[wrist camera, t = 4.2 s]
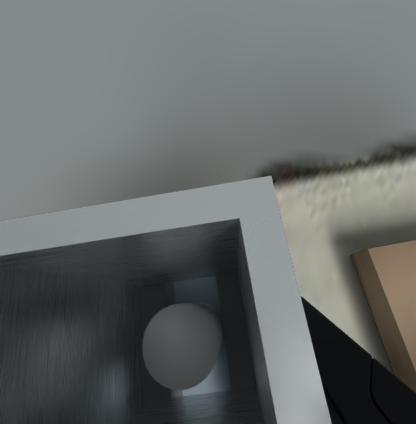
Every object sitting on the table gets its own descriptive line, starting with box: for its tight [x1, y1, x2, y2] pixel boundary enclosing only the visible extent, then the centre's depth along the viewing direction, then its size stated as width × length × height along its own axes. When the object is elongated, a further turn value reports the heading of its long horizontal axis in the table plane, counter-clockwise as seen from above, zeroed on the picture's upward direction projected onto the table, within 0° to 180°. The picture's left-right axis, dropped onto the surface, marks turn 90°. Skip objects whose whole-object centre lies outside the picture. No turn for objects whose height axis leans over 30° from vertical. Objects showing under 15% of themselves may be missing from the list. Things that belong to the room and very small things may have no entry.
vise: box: [142, 273, 257, 400], centre depth 10 cm, size 11×9×7 cm
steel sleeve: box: [0, 176, 332, 424], centre depth 7 cm, size 6×6×8 cm
